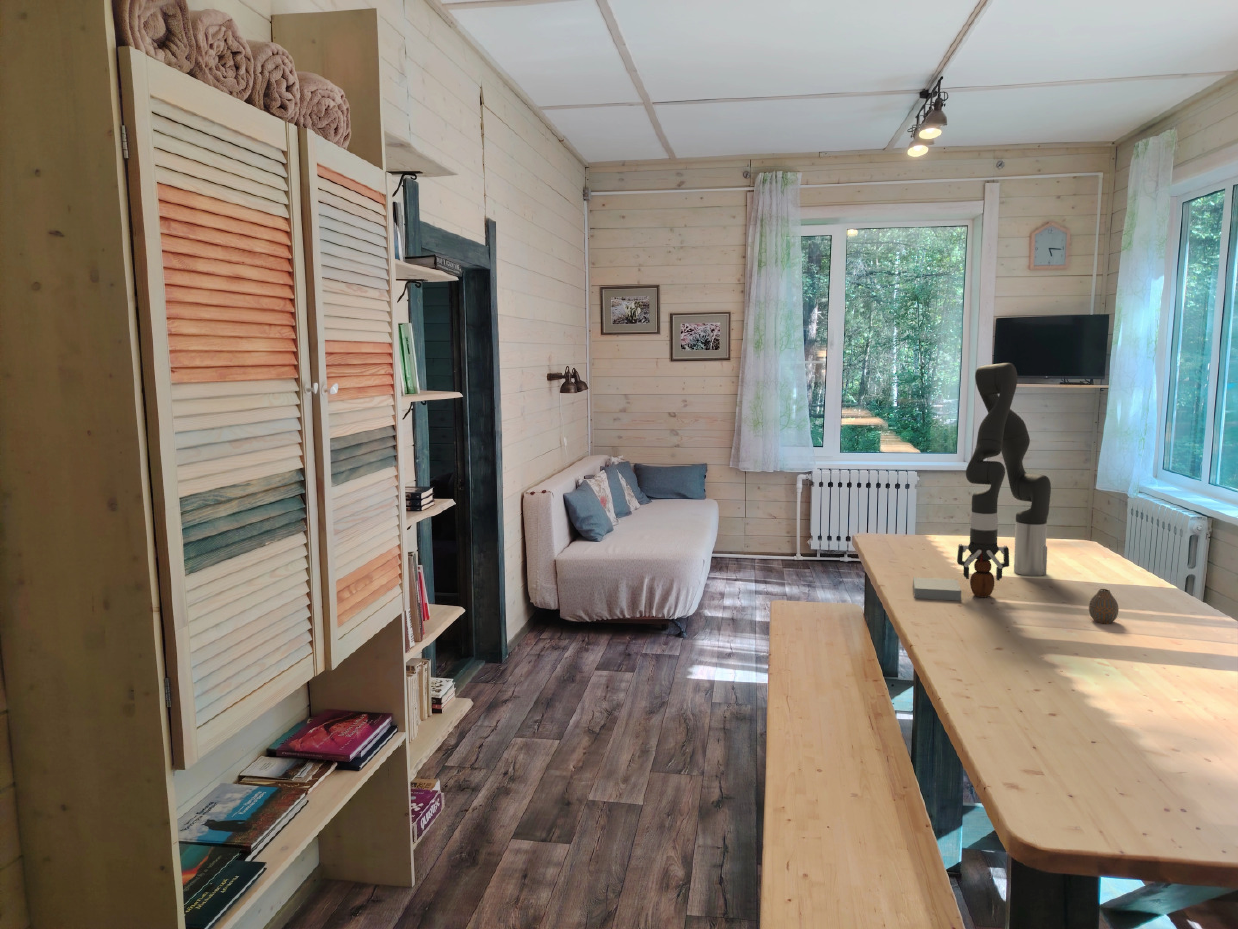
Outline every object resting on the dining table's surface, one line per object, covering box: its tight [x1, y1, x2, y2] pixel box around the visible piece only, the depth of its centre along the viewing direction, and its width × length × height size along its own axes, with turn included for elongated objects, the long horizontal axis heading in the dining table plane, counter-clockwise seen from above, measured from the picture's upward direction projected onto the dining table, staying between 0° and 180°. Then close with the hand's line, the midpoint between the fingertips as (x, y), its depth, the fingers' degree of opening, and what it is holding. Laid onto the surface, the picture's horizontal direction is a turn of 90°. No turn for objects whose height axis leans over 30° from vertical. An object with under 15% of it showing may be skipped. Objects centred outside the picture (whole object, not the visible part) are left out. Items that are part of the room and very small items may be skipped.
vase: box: [1088, 588, 1120, 624], centre depth 219 cm, size 7×7×9 cm
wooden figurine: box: [969, 549, 995, 598], centre depth 244 cm, size 7×6×15 cm
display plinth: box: [912, 576, 962, 602], centre depth 249 cm, size 13×13×3 cm
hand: (982, 579), depth 245 cm, fingers open, 8 cm apart
